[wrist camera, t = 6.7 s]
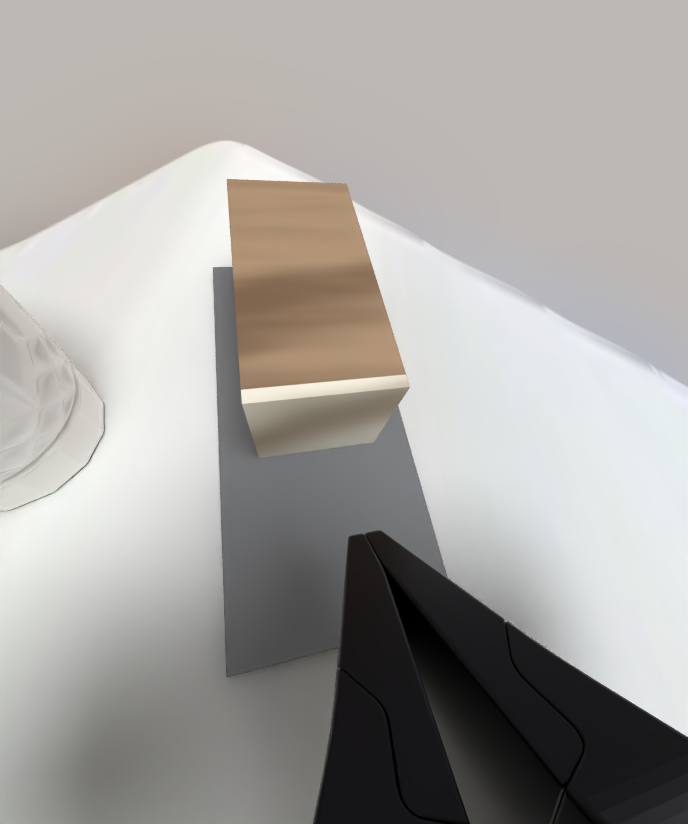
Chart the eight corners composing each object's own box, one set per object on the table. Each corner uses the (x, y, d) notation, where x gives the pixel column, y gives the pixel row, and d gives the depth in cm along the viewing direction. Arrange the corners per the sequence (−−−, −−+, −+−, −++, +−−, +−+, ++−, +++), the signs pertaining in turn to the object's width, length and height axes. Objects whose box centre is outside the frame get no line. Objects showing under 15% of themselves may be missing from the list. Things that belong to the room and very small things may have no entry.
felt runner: (453, 613, 13) (458, 615, 13) (228, 673, 12) (226, 677, 11) (356, 270, 21) (357, 265, 21) (214, 272, 20) (213, 267, 19)
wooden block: (409, 387, 11) (346, 183, 15) (241, 404, 10) (226, 179, 14) (373, 442, 16) (333, 275, 20) (259, 458, 15) (243, 278, 19)
